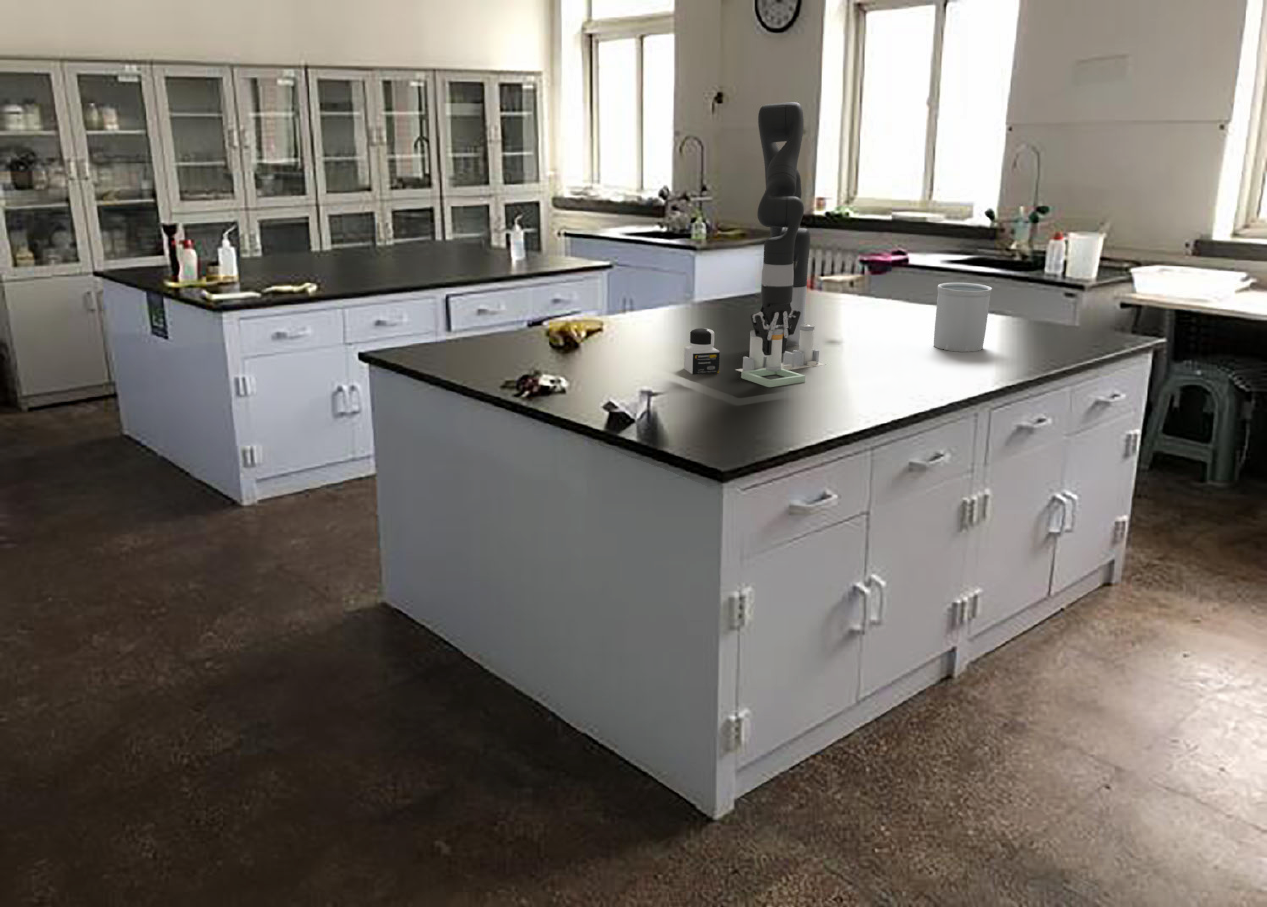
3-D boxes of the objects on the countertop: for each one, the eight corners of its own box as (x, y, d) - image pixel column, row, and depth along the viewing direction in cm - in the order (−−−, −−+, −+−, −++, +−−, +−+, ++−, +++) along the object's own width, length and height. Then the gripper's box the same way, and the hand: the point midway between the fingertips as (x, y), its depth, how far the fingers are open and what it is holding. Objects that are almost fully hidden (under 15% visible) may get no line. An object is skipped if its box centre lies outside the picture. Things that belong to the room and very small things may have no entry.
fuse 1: (745, 369, 264) (747, 330, 261) (757, 368, 266) (759, 329, 263) (754, 372, 261) (756, 333, 258) (766, 371, 263) (768, 332, 260)
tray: (741, 383, 256) (741, 371, 256) (776, 378, 262) (776, 366, 261) (768, 393, 247) (769, 380, 247) (804, 387, 253) (805, 375, 252)
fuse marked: (772, 371, 251) (774, 330, 248) (762, 368, 254) (764, 328, 251) (784, 370, 253) (786, 329, 250) (774, 367, 256) (776, 327, 253)
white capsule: (795, 363, 272) (797, 325, 269) (806, 361, 274) (808, 323, 271) (804, 365, 269) (806, 327, 266) (815, 364, 271) (817, 326, 268)
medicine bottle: (692, 380, 260) (693, 332, 256) (683, 374, 266) (684, 327, 263) (719, 378, 262) (720, 331, 258) (709, 372, 268) (711, 326, 264)
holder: (734, 375, 265) (735, 356, 263) (808, 364, 277) (809, 346, 275) (751, 380, 259) (752, 361, 258) (825, 370, 271) (826, 351, 269)
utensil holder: (996, 350, 295) (1003, 289, 290) (951, 354, 291) (957, 291, 286) (965, 340, 309) (971, 281, 303) (921, 343, 304) (927, 283, 299)
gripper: (790, 278, 254) (787, 348, 259) (743, 282, 247) (741, 354, 252) (810, 282, 247) (806, 353, 253) (763, 286, 241) (760, 359, 246)
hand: (773, 353), depth 252 cm, fingers closed on fuse marked, 3 cm apart
